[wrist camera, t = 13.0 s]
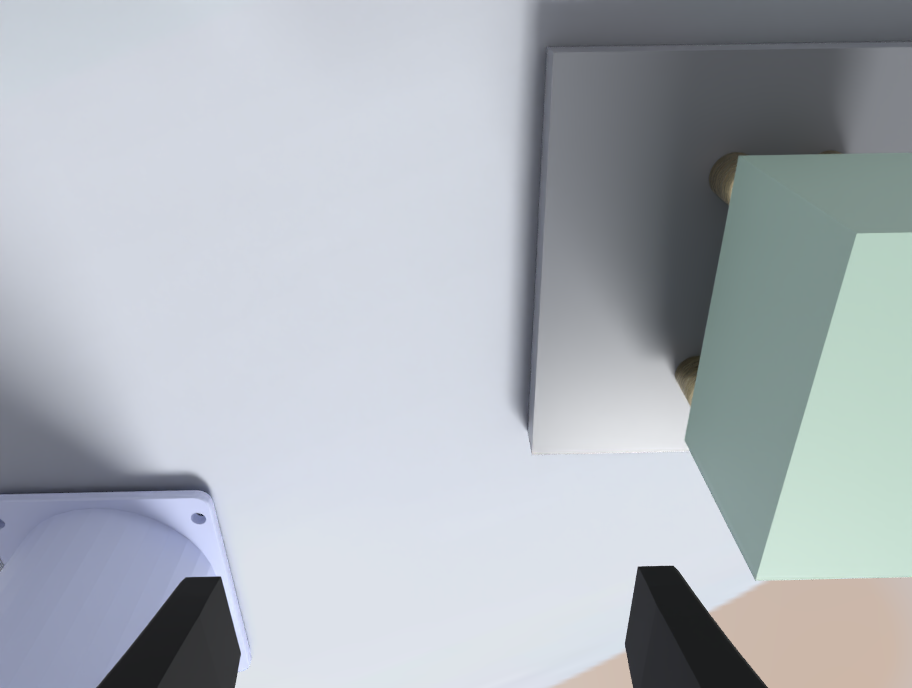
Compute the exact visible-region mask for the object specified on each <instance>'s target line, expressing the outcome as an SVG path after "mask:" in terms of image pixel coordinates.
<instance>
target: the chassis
mask: <svg viewBox="0 0 912 688" xmlns="http://www.w3.org/2000/svg"><path fill="white" fill-rule="evenodd" d="M862 153H912V41H904V42H838V43H773V44H708V45H642V46H577V47H547V54H546V74H545V94H544V114H543V135H542V155H541V175H540V195H539V216H538V236H537V256H536V276H535V297H534V317H533V337H532V357H531V378H530V398H529V418H528V436H529V442H530V447H531V453H532V455H549V454H595V453H641V452H688V451H690V450H689V448H688V446H687V444H686V443H685V441H684V439H685V434H686V429H687V424H688V418H689V413H690V408H691V403H692V398H693V392H694V387H695V382H696V377H697V371H698V366H699V361H700V356H701V350H702V345H703V340H704V335H705V329H706V324H707V319H708V314H709V308H710V303H711V298H712V293H713V287H714V282H715V277H716V272H717V267H718V261H719V256H720V251H721V246H722V240H723V235H724V230H725V225H726V219H727V214H728V209H729V204H730V198H731V193H732V188H733V183H734V177H735V172H736V167H737V162H738V156H747V155H804V154H862Z"/></svg>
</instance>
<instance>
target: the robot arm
mask: <svg viewBox="0 0 912 688" xmlns="http://www.w3.org/2000/svg"><path fill="white" fill-rule="evenodd" d="M196 513H200V514H202V515H204V516H199V515H197V514H196ZM0 558H1V560H2V562H3V564H4V568H3V569H2V570H1V572H0V688H235V683H236V678H237V673H238V672H240V671H244V670H246V669H248V668H249V666H250V663H251V659H252V656H251V652H250V648H249V644H248V640H247V636H246V632H245V628H244V624H243V620H242V616H241V612H240V608H239V604H238V600H237V596H236V592H235V587H234V583H233V579H232V575H231V571H230V567H229V563H228V559H227V555H226V551H225V547H224V543H223V539H222V535H221V531H220V527H219V523H218V519H217V515H216V511H215V507H214V503H213V500H212V498H211V496H210V495H208V494H207V493H205V492H203V491H199V490H179V491H134V492H88V493H43V494H0ZM625 647H626V653H627V658H628V663H629V669H630V674H631V679H632V684H633V688H768V687H767V686H766V685H765V684H764V682H763V681H762V680H761V679H760V677H759V676H758V675H757V674H756V673H755V671H754V670H753V669H752V668H751V666H750V665H749V664H748V663H747V662H746V660H745V659H744V658H743V657H742V655H741V654H740V653H739V652H738V650H737V649H736V648H735V647H734V645H733V644H732V643H731V641H730V640H729V639H728V638H727V636H726V635H725V634H724V632H723V631H722V630H721V628H720V627H719V626H718V625H717V623H716V622H715V621H714V619H713V618H712V617H711V615H710V614H709V613H708V611H707V610H706V608H705V607H704V606H703V604H702V603H701V602H700V600H699V599H698V598H697V596H696V595H695V593H694V592H693V591H692V589H691V588H690V586H689V585H688V584H687V582H686V581H685V579H684V578H683V577H682V575H681V574H680V572H679V571H678V570H677V569H676V568H675V567H674V566H642V567H638V569H637V575H636V581H635V587H634V593H633V599H632V605H631V611H630V617H629V623H628V629H627V635H626V641H625Z"/></svg>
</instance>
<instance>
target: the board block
mask: <svg viewBox="0 0 912 688" xmlns="http://www.w3.org/2000/svg"><path fill="white" fill-rule="evenodd" d="M684 441H685V443H686V444H687V446H688V448H689V450H690V452H691V454H692V456H693V458H694V460H695V462H696V464H697V466H698V468H699V470H700V472H701V474H702V476H703V478H704V480H705V482H706V484H707V486H708V488H709V490H710V492H711V494H712V496H713V498H714V500H715V502H716V504H717V506H718V508H719V510H720V512H721V514H722V516H723V518H724V520H725V522H726V524H727V526H728V528H729V529H730V531H731V533H732V535H733V537H734V539H735V541H736V543H737V545H738V547H739V549H740V551H741V553H742V555H743V557H744V559H745V561H746V563H747V565H748V567H749V569H750V571H751V573H752V575H753V577H754V579H755V581H762V580H803V579H843V578H844V579H846V578H888V577H912V153H862V154H804V155H747V156H738V162H737V167H736V172H735V177H734V183H733V188H732V193H731V198H730V204H729V209H728V214H727V219H726V225H725V230H724V235H723V240H722V246H721V251H720V256H719V261H718V267H717V272H716V277H715V282H714V287H713V293H712V298H711V303H710V308H709V314H708V319H707V324H706V329H705V335H704V340H703V345H702V350H701V356H700V361H699V366H698V371H697V377H696V382H695V387H694V392H693V398H692V403H691V408H690V413H689V418H688V424H687V429H686V434H685V439H684Z"/></svg>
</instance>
